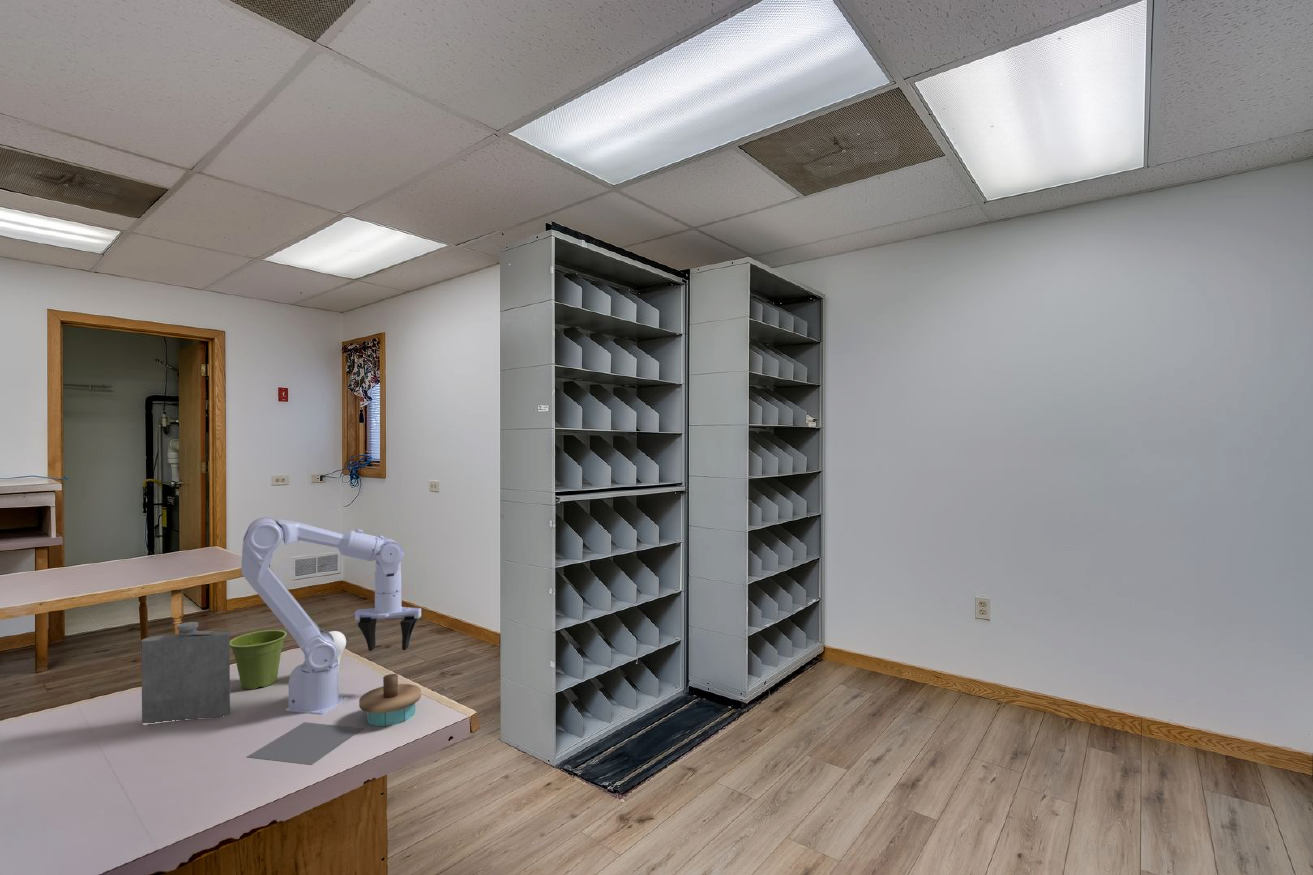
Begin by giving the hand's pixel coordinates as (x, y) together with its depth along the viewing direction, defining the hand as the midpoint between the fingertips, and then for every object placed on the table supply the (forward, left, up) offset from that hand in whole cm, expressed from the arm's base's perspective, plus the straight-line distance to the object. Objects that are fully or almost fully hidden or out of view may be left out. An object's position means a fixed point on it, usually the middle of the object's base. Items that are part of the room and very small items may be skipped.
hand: (388, 648), depth 143 cm
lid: (+9, -12, -6) cm, 16 cm away
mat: (0, -25, -10) cm, 27 cm away
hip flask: (-34, -20, -10) cm, 41 cm away
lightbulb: (-20, +6, -10) cm, 23 cm away
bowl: (+9, -12, -10) cm, 18 cm away
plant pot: (-34, -2, -10) cm, 36 cm away
